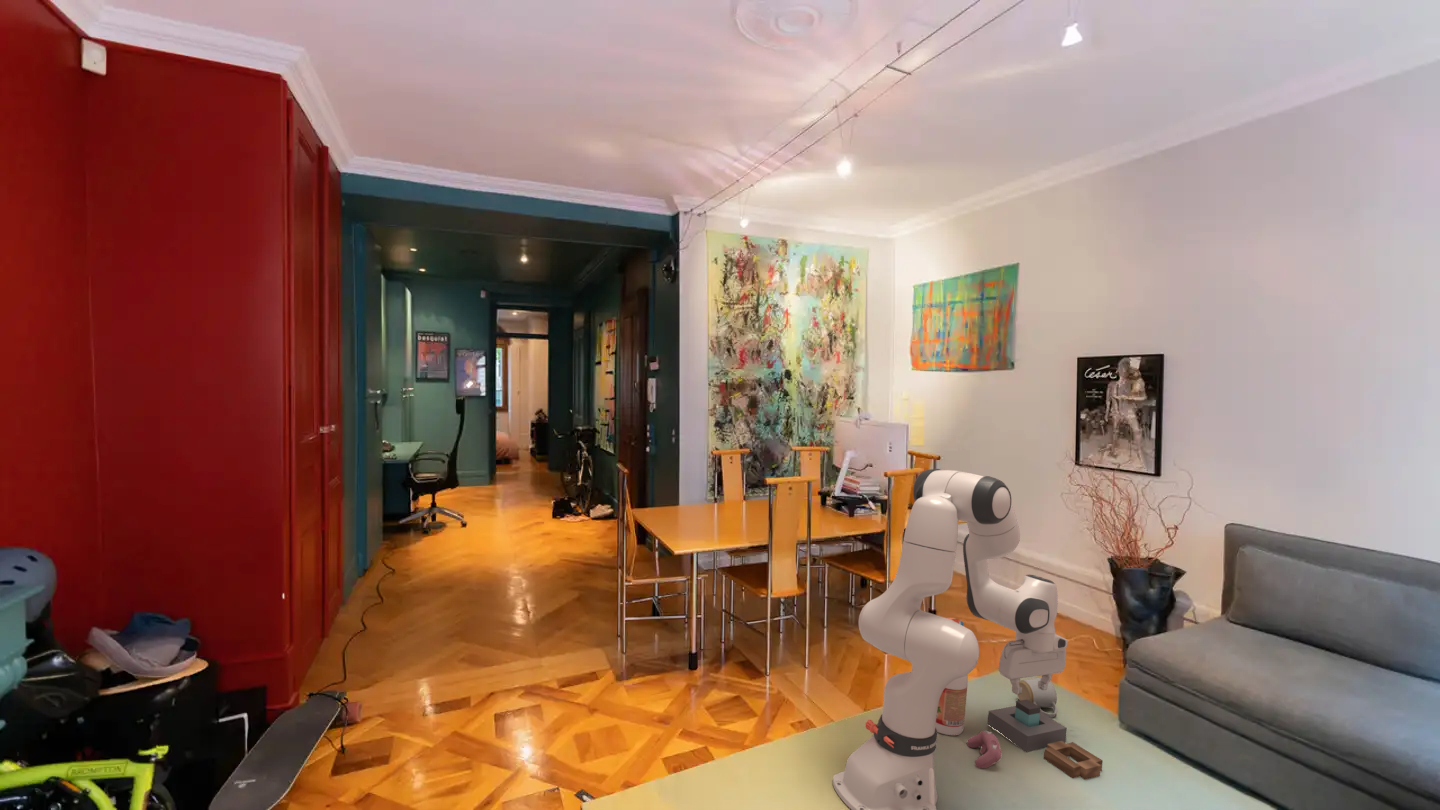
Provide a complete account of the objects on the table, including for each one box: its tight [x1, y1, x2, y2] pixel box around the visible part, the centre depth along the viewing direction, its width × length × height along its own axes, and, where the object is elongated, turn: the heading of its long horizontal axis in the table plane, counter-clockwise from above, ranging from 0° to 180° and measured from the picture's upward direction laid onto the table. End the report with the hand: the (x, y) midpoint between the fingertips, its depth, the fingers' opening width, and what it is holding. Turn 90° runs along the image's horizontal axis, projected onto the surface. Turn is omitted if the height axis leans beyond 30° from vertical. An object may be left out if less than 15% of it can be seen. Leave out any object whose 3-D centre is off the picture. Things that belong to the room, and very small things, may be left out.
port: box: [986, 705, 1067, 753], centre depth 154 cm, size 14×12×4 cm
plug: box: [1015, 699, 1041, 727], centre depth 154 cm, size 4×4×8 cm
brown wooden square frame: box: [1043, 741, 1103, 781], centre depth 142 cm, size 10×10×2 cm
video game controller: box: [966, 729, 1002, 769], centre depth 142 cm, size 10×5×7 cm
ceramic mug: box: [1016, 677, 1058, 719], centre depth 168 cm, size 11×8×8 cm
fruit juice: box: [935, 616, 969, 736], centre depth 155 cm, size 9×9×28 cm
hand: (1029, 691), depth 154 cm, fingers open, 8 cm apart
